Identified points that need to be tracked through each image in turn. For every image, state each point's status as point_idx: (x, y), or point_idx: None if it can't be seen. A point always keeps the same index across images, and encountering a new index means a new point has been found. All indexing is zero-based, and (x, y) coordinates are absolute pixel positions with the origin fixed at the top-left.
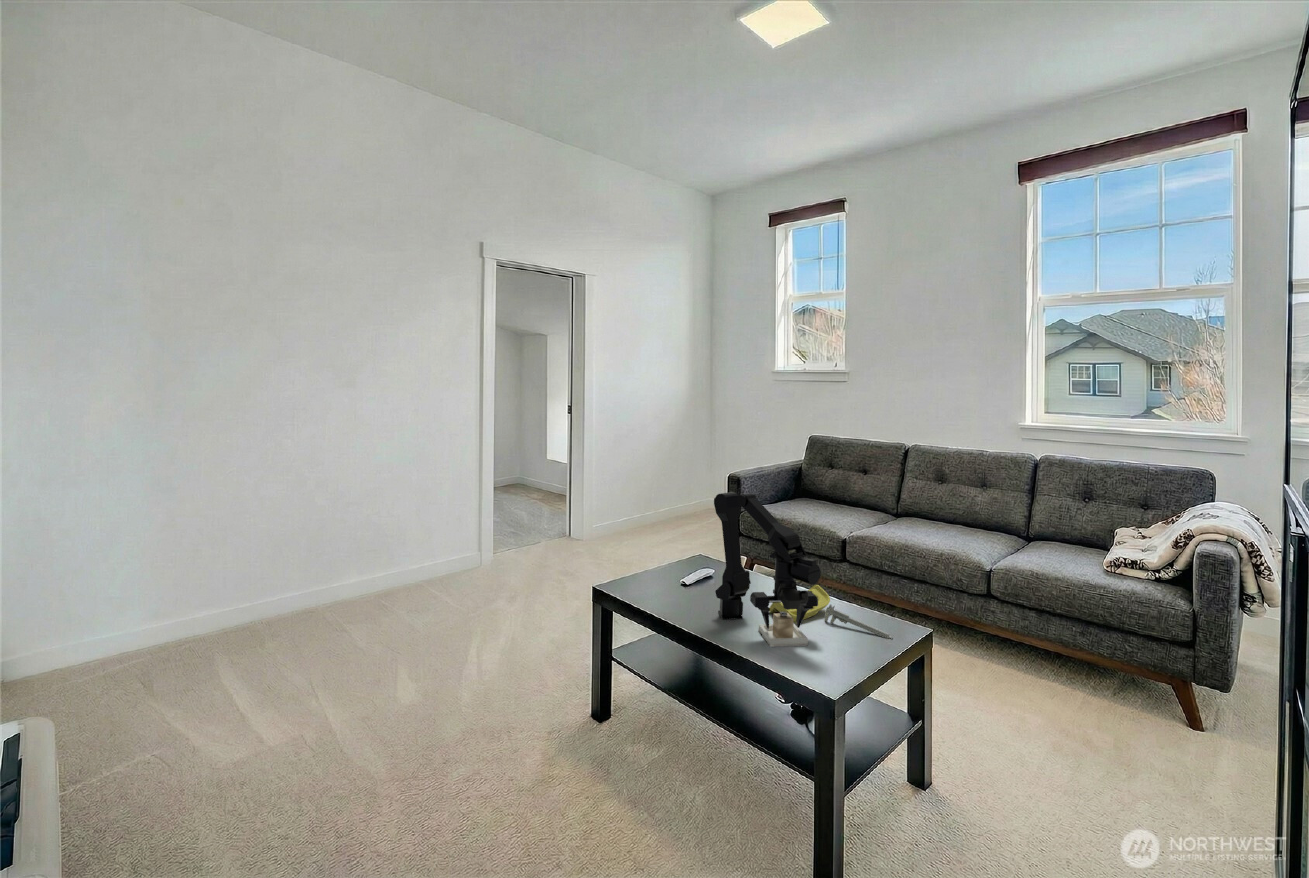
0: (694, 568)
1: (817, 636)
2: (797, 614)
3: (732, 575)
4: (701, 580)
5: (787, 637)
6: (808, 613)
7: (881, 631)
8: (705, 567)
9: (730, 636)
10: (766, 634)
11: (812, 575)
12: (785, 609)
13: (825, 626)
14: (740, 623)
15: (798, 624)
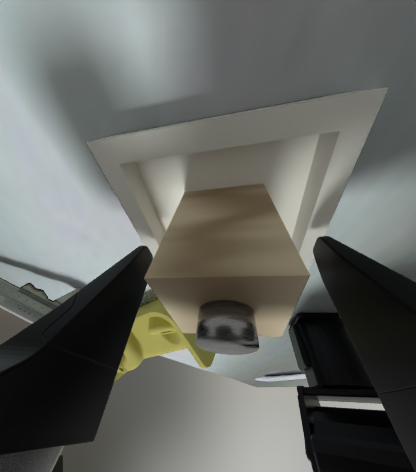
0: (277, 382)
1: (94, 229)
2: (125, 320)
3: None
4: (286, 374)
5: (210, 193)
6: None
7: None
8: (262, 381)
9: None
10: (340, 197)
11: None
12: (185, 336)
13: (90, 279)
14: (319, 299)
15: (136, 257)
